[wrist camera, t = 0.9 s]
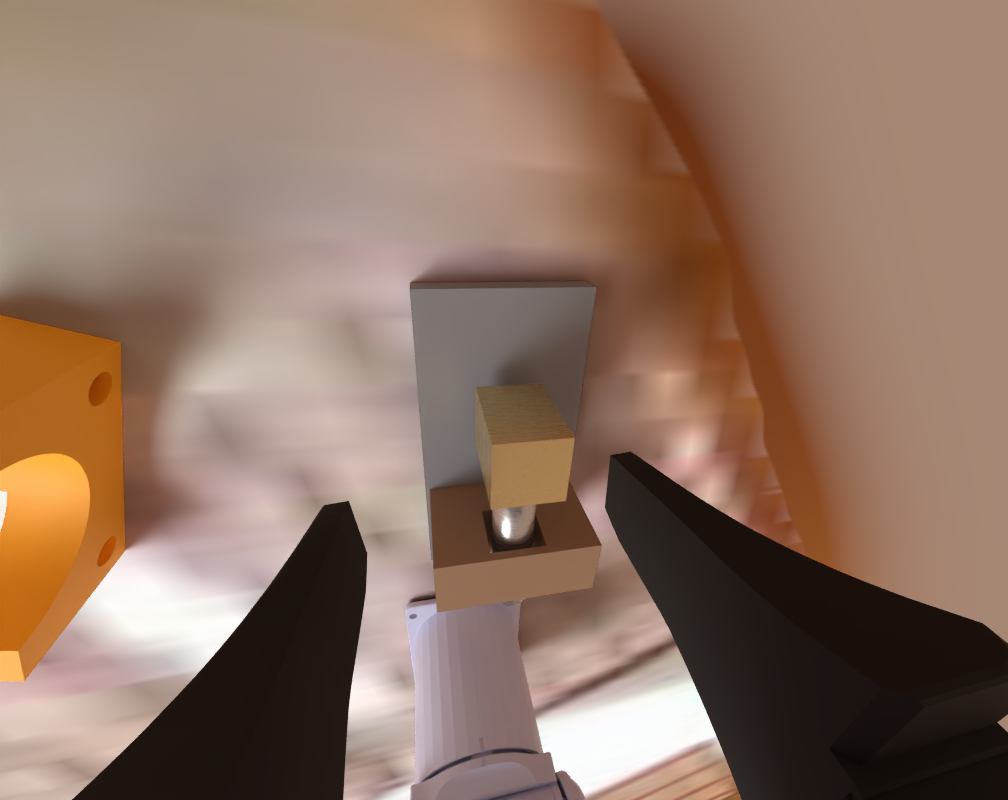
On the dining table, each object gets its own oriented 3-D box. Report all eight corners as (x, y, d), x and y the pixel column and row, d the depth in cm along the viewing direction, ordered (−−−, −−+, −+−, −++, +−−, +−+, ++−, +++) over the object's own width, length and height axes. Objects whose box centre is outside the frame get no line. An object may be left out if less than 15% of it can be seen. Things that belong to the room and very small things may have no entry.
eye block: (553, 528, 26) (589, 617, 21) (430, 544, 25) (434, 644, 19) (586, 280, 18) (656, 322, 13) (410, 282, 17) (408, 330, 12)
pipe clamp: (-22, 307, 15) (-284, 386, 9) (123, 340, 16) (-28, 425, 11) (17, 538, 19) (-141, 682, 14) (127, 547, 21) (24, 680, 15)
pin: (526, 551, 23) (548, 623, 20) (475, 558, 23) (487, 633, 19) (541, 383, 18) (575, 438, 14) (475, 386, 17) (492, 444, 14)
